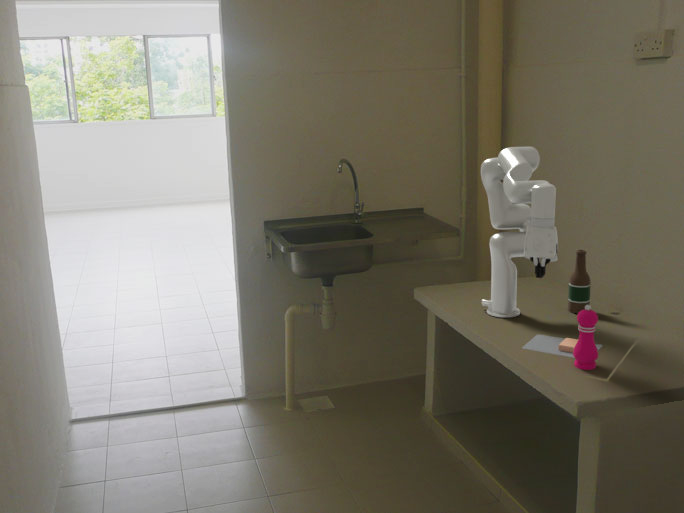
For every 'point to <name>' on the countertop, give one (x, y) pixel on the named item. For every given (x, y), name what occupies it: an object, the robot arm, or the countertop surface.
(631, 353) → the countertop surface
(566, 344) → the tile
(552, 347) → the mat
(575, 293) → the beer bottle
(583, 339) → the pepper mill
